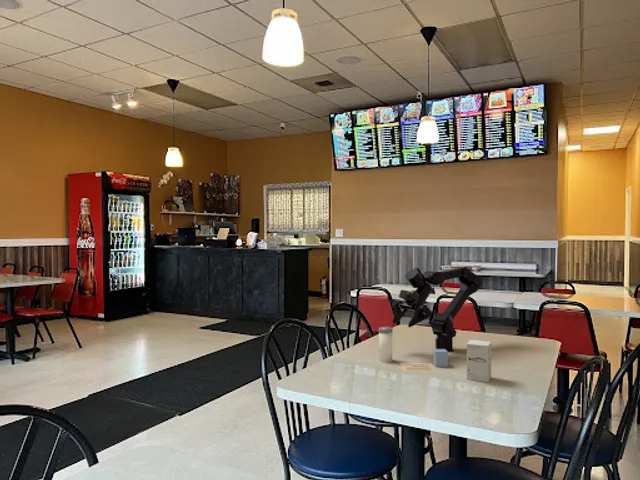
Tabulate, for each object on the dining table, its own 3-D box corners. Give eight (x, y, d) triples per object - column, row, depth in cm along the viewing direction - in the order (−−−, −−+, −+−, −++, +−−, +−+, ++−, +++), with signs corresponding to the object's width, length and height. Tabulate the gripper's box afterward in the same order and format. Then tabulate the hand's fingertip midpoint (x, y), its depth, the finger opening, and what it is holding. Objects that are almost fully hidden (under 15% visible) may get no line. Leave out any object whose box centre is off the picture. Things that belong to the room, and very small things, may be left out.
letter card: (430, 363, 188) (430, 363, 188) (437, 372, 176) (437, 371, 176) (399, 363, 189) (399, 363, 189) (403, 372, 177) (403, 371, 177)
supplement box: (466, 380, 167) (465, 343, 167) (470, 374, 174) (470, 339, 174) (488, 383, 164) (488, 345, 164) (491, 377, 170) (491, 341, 170)
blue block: (445, 364, 187) (445, 349, 187) (447, 367, 183) (447, 351, 183) (433, 364, 187) (433, 349, 187) (435, 367, 183) (435, 351, 183)
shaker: (394, 360, 194) (394, 327, 194) (389, 363, 189) (389, 329, 189) (381, 358, 197) (381, 326, 196) (376, 361, 192) (376, 328, 192)
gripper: (394, 280, 208) (374, 309, 202) (426, 284, 192) (406, 315, 186) (408, 297, 212) (389, 326, 206) (441, 302, 196) (421, 333, 190)
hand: (400, 324), depth 197 cm, fingers open, 9 cm apart
